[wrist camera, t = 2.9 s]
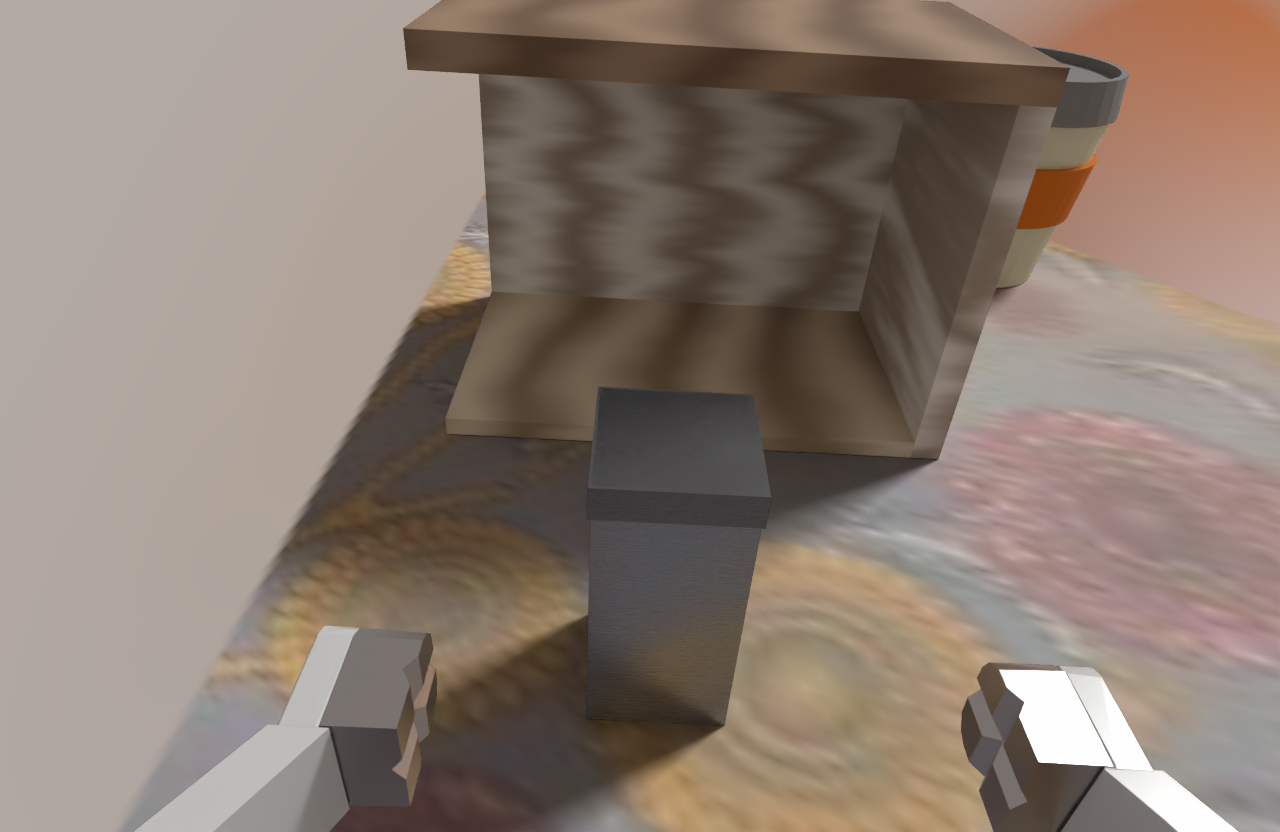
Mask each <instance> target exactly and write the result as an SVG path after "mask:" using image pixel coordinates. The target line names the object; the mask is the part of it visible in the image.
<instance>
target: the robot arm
mask: <svg viewBox="0 0 1280 832" xmlns="http://www.w3.org/2000/svg"><path fill="white" fill-rule="evenodd" d="M432 651H433V645H432V639H431V634H429V633H417V632H405V631H393V630H380V629H368V628H354V627H338V626H324V627H323V628H322V630H321V631H320V632H319V633H318V634H317V635H316V638H315V640H314V642H313V645H312V647H311V649H310V651H309V654H308V656H307V658H306V661H305V663H304V665H303V667H302V670H301V672H300V674H299V677H298V679H297V681H296V683H295V686H294V688H293V690H292V693H291V695H290V697H289V700H288V702H287V704H286V706H285V709H284V711H283V713H282V716H281V718H280V720H279V722H278V725H266V726H264V727H263V728H262V729H261V730H260V731H258V732H257V733H256V734H255V735H253V736H252V737H251V738H250V739H248V740H247V741H246V742H245V743H243V744H242V745H241V746H240V747H238V748H237V749H236V750H235V751H233V752H232V753H231V754H230V755H228V756H227V757H226V758H225V759H224V760H222V761H221V762H220V763H219V764H217V765H216V766H215V767H214V768H212V769H211V770H210V771H209V772H207V773H206V774H205V775H204V776H202V777H201V778H200V779H199V780H197V781H196V782H195V783H194V784H192V785H191V786H190V787H189V788H188V789H186V790H185V791H184V792H183V793H181V794H180V795H179V796H178V797H176V798H175V799H174V800H173V801H171V802H170V803H169V804H168V805H166V806H165V807H164V808H163V809H161V810H160V811H159V812H158V813H157V814H155V815H154V816H153V817H152V818H150V819H149V820H148V821H147V822H145V823H144V824H143V825H142V826H140V827H139V828H138V829H137V830H135V831H134V832H330V831H331V829H332V828H333V827H334V826H335V825H336V824H337V823H338V822H339V820H340V819H341V818H342V817H343V816H344V815H345V814H346V813H347V812H348V810H349V805H360V806H408V807H410V806H411V803H412V799H413V795H414V791H415V787H416V784H417V780H418V776H419V772H420V768H421V764H422V759H421V752H420V744H419V743H420V742H421V741H422V740H423V739H424V738H425V737H427V736H428V735H429V733H430V729H431V725H432V721H433V717H434V710H435V703H436V696H437V676H436V669H435V668H434V667H433V666H432V665H431V664H430V659H431V655H432ZM977 679H978V682H979V685H980V687H981V689H980V690H979V691H977V692H976V693H974V694H972V695H971V696H969V697H968V698H967V701H966V703H965V706H964V708H963V710H962V720H961V733H962V739H963V745H964V748H965V751H966V754H967V757H968V760H969V762H970V763H971V764H972V765H973V766H974V767H975V768H976V769H977V770H978V771H979V772H980V773H981V774H982V775H983V776H984V779H983V782H982V784H981V787H980V789H979V792H980V795H981V798H982V800H983V803H984V806H985V809H986V812H987V815H988V817H989V820H990V823H991V826H992V829H993V831H994V832H1238V831H1237V830H1236V829H1234V828H1233V827H1232V826H1231V825H1229V824H1228V823H1227V822H1226V821H1224V820H1223V819H1222V818H1221V817H1220V816H1218V815H1217V814H1216V813H1215V812H1213V811H1212V810H1211V809H1210V808H1208V807H1207V806H1206V805H1205V804H1203V803H1202V802H1201V801H1200V800H1199V799H1197V798H1196V797H1195V796H1194V795H1192V794H1191V793H1190V792H1189V791H1187V790H1186V789H1185V788H1184V787H1183V786H1181V785H1180V784H1179V783H1178V782H1176V781H1175V780H1174V779H1173V778H1171V777H1170V776H1169V775H1168V774H1167V773H1165V772H1164V771H1161V770H1153V769H1152V768H1151V766H1150V764H1149V762H1148V760H1147V759H1146V757H1145V755H1144V753H1143V751H1142V750H1141V748H1140V746H1139V744H1138V742H1137V741H1136V739H1135V737H1134V735H1133V733H1132V732H1131V730H1130V728H1129V726H1128V724H1127V723H1126V721H1125V719H1124V717H1123V715H1122V713H1121V712H1120V710H1119V708H1118V706H1117V704H1116V703H1115V701H1114V699H1113V697H1112V695H1111V694H1110V692H1109V690H1108V688H1107V686H1106V685H1105V683H1104V681H1103V679H1102V677H1101V676H1100V674H1099V673H1098V672H1096V671H1095V670H1094V669H1093V668H1085V667H1066V666H1053V665H1039V664H1014V663H988V664H986V665H985V666H983V667H982V669H981V671H980V673H979V675H978V677H977Z"/></svg>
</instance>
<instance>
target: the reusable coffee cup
mask: <svg viewBox="0 0 1280 832" xmlns="http://www.w3.org/2000/svg"><path fill="white" fill-rule="evenodd" d="M1031 47H1033V48H1035V49H1037V50H1038V51H1040V52H1042V53H1044V54H1046V55H1048V56H1049V57H1051V58H1053V59H1055V60H1057V61H1059V62H1060V63H1062V64H1064V65H1066V66H1068V67H1070V71H1069V74H1068V77H1067V79H1066V82H1065V85H1064V88H1063V91H1062V94H1061V97H1060V100H1059V103H1058V106H1057V109H1056V112H1055V115H1054V118H1053V121H1052V124H1051V127H1050V130H1049V133H1048V136H1047V139H1046V142H1045V145H1044V148H1043V151H1042V154H1041V157H1040V160H1039V162H1038V165H1037V168H1036V171H1035V174H1034V177H1033V180H1032V183H1031V186H1030V189H1029V192H1028V195H1027V198H1026V201H1025V204H1024V207H1023V210H1022V213H1021V216H1020V219H1019V222H1018V225H1017V228H1016V231H1015V234H1014V237H1013V240H1012V243H1011V245H1010V248H1009V251H1008V254H1007V257H1006V260H1005V263H1004V266H1003V269H1002V272H1001V275H1000V278H999V281H998V284H997V287H996V288H1005V287H1012V286H1016V285H1019V284H1022V283H1024V282H1025V281H1027V280H1028V278H1029V277H1030V275H1031V273H1032V271H1033V269H1034V267H1035V265H1036V263H1037V261H1038V259H1039V258H1040V256H1041V254H1042V252H1043V250H1044V248H1045V246H1046V244H1047V242H1048V240H1049V238H1050V236H1051V234H1052V232H1053V231H1054V229H1055V227H1056V225H1058V224H1060V223H1062V222H1064V220H1065V219H1066V218H1067V217H1068V215H1069V213H1070V211H1071V209H1072V207H1073V205H1074V203H1075V201H1076V199H1077V198H1078V196H1079V194H1080V192H1081V190H1082V188H1083V186H1084V184H1085V182H1086V180H1087V178H1088V177H1089V175H1090V173H1091V171H1092V169H1093V167H1094V165H1095V163H1096V161H1097V160H1096V156H1095V155H1094V152H1095V150H1096V148H1097V146H1098V144H1099V142H1100V140H1101V138H1102V136H1103V135H1104V133H1105V131H1106V129H1107V127H1108V125H1109V124H1111V123H1113V122H1115V120H1116V119H1117V117H1118V114H1119V110H1120V106H1121V102H1122V98H1123V95H1124V91H1125V87H1126V83H1127V79H1128V76H1129V75H1128V72H1127V71H1126V70H1125V69H1124V68H1122V67H1120V66H1118V65H1116V64H1113V63H1111V62H1108V61H1105V60H1102V59H1098V58H1094V57H1091V56H1087V55H1082V54H1078V53H1073V52H1068V51H1063V50H1057V49H1050V48H1044V47H1035V46H1031Z"/></svg>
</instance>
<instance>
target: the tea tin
mask: <svg viewBox="0 0 1280 832" xmlns="http://www.w3.org/2000/svg"><path fill="white" fill-rule="evenodd" d="M771 498H772V496H771V491H770V485H769V479H768V474H767V468H766V462H765V456H764V451H763V445H762V439H761V434H760V428H759V422H758V416H757V411H756V405H755V399H754V395H750V394H731V393H712V392H693V391H674V390H655V389H636V388H616V387H598V394H597V403H596V412H595V422H594V431H593V440H592V449H591V458H590V468H589V477H588V486H587V520H590V560H589V607H588V654H587V701H586V719H594V720H616V721H637V722H659V723H681V724H702V725H725V720H726V714H727V709H728V704H729V698H730V693H731V688H732V682H733V677H734V672H735V666H736V661H737V656H738V650H739V645H740V640H741V634H742V629H743V624H744V618H745V613H746V608H747V602H748V597H749V592H750V586H751V581H752V576H753V570H754V565H755V560H756V555H757V549H758V544H759V539H760V533H761V528H764V529H766V524H767V519H768V514H769V509H770V503H771Z"/></svg>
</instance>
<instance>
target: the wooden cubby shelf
mask: <svg viewBox="0 0 1280 832" xmlns="http://www.w3.org/2000/svg"><path fill="white" fill-rule="evenodd" d="M403 31H404V40H405V50H406V59H407V67H408V70H423V71H440V72H457V73H475V74H479V85H480V102H481V118H482V135H483V151H484V168H485V185H486V202H487V218H488V235H489V252H490V268H491V285H492V293H491V295H490V298H489V301H488V304H487V306H486V309H485V312H484V314H483V317H482V320H481V322H480V325H479V328H478V331H477V333H476V336H475V339H474V341H473V344H472V347H471V350H470V352H469V355H468V358H467V360H466V363H465V366H464V369H463V371H462V374H461V377H460V379H459V382H458V385H457V388H456V390H455V393H454V396H453V398H452V401H451V404H450V407H449V409H448V412H447V415H446V417H445V421H446V430H447V434H463V435H482V436H502V437H521V438H541V439H560V440H579V441H592V440H593V431H594V422H595V412H596V403H597V394H598V387H616V388H636V389H655V390H674V391H693V392H712V393H731V394H750V395H754V399H755V405H756V411H757V416H758V422H759V428H760V434H761V439H762V445H763V450H773V451H793V452H812V453H831V454H851V455H870V456H890V457H909V458H928V459H939V456H940V453H941V450H942V447H943V444H944V441H945V438H946V435H947V432H948V429H949V426H950V423H951V420H952V417H953V414H954V411H955V408H956V406H957V403H958V400H959V397H960V394H961V391H962V388H963V385H964V382H965V379H966V376H967V373H968V370H969V367H970V364H971V361H972V358H973V355H974V352H975V349H976V346H977V343H978V340H979V337H980V334H981V331H982V328H983V325H984V323H985V320H986V317H987V314H988V311H989V308H990V305H991V302H992V299H993V296H994V293H995V290H996V287H997V284H998V281H999V278H1000V275H1001V272H1002V269H1003V266H1004V263H1005V260H1006V257H1007V254H1008V251H1009V248H1010V245H1011V243H1012V240H1013V237H1014V234H1015V231H1016V228H1017V225H1018V222H1019V219H1020V216H1021V213H1022V210H1023V207H1024V204H1025V201H1026V198H1027V195H1028V192H1029V189H1030V186H1031V183H1032V180H1033V177H1034V174H1035V171H1036V168H1037V165H1038V162H1039V160H1040V157H1041V154H1042V151H1043V148H1044V145H1045V142H1046V139H1047V136H1048V133H1049V130H1050V127H1051V124H1052V121H1053V118H1054V115H1055V112H1056V109H1057V106H1058V103H1059V100H1060V97H1061V94H1062V91H1063V88H1064V85H1065V82H1066V79H1067V77H1068V74H1069V71H1070V67H1068V66H1066V65H1064V64H1062V63H1060V62H1059V61H1057V60H1055V59H1053V58H1051V57H1049V56H1048V55H1046V54H1044V53H1042V52H1040V51H1038V50H1037V49H1035V48H1033V47H1031V46H1029V45H1027V44H1025V43H1024V42H1022V41H1020V40H1018V39H1016V38H1014V37H1013V36H1011V35H1009V34H1007V33H1005V32H1003V31H1002V30H1000V29H998V28H996V27H994V26H992V25H990V24H988V23H987V22H985V21H983V20H981V19H979V18H978V17H976V16H974V15H972V14H970V13H968V12H967V11H965V10H963V9H961V8H959V7H957V6H955V5H954V4H952V3H950V2H936V1H920V0H919V1H918V0H441V1H440V2H439V3H437V4H436V5H435V6H433V7H432V8H430V9H429V10H428V11H426V12H425V13H424V14H422V15H421V16H419V17H418V18H417V19H415V20H414V21H413V22H411V23H410V24H409V25H407V26H406V27H404V28H403Z"/></svg>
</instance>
